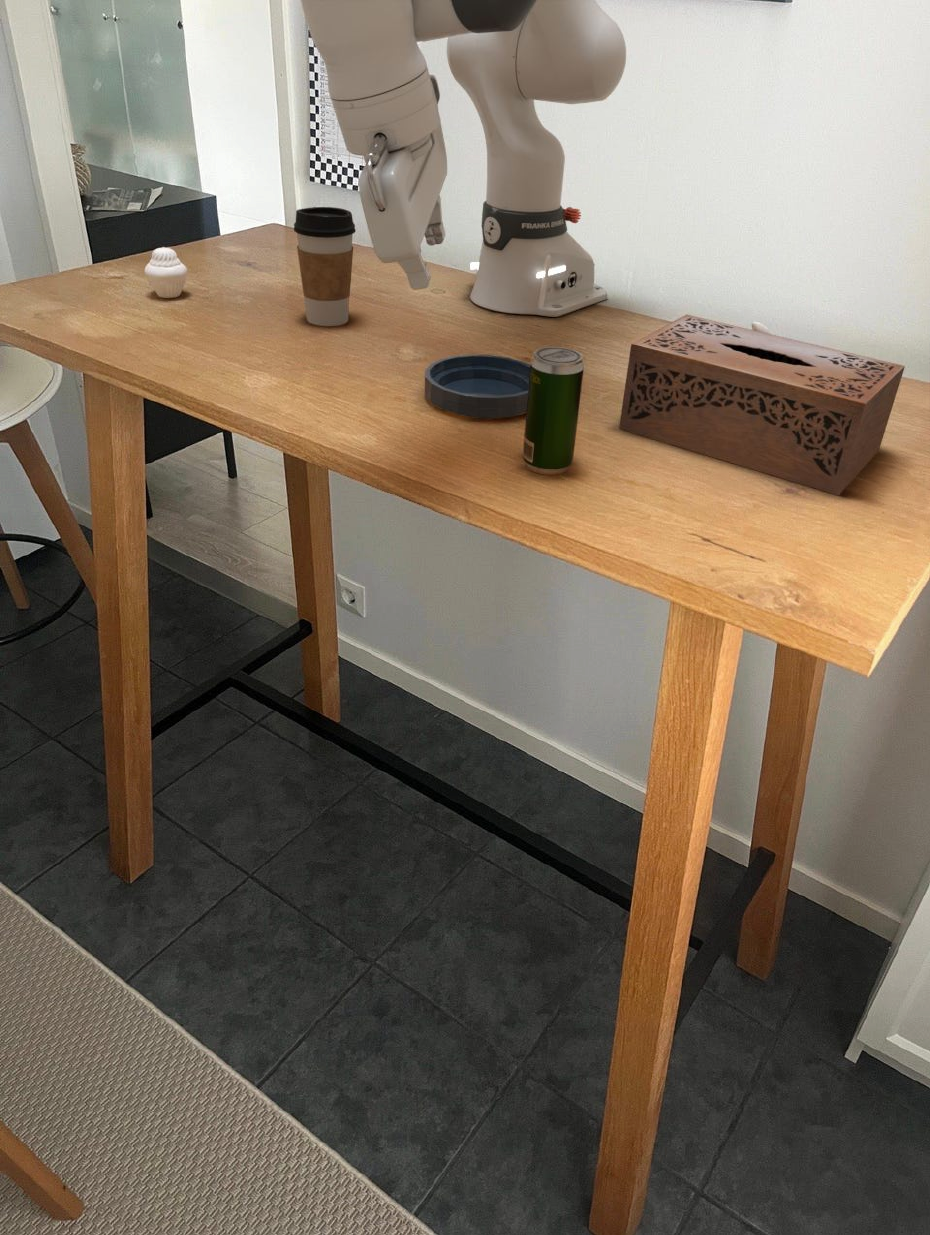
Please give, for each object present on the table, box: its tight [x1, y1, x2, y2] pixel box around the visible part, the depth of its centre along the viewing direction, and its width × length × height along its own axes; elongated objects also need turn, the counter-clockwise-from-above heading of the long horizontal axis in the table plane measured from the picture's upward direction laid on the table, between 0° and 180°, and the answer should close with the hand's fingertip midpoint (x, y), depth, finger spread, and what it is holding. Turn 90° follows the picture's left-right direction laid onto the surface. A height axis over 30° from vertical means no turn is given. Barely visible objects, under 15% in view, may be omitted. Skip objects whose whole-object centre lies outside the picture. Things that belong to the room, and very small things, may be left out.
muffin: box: [144, 246, 188, 299], centre depth 146 cm, size 6×6×7 cm
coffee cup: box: [293, 206, 356, 327], centre depth 137 cm, size 8×8×15 cm
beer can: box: [521, 346, 585, 476], centre depth 101 cm, size 5×5×12 cm
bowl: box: [424, 354, 531, 420], centre depth 119 cm, size 14×14×3 cm
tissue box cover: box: [618, 314, 906, 496], centre depth 110 cm, size 26×14×10 cm, turn 55°
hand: (429, 263), depth 96 cm, fingers open, 8 cm apart
